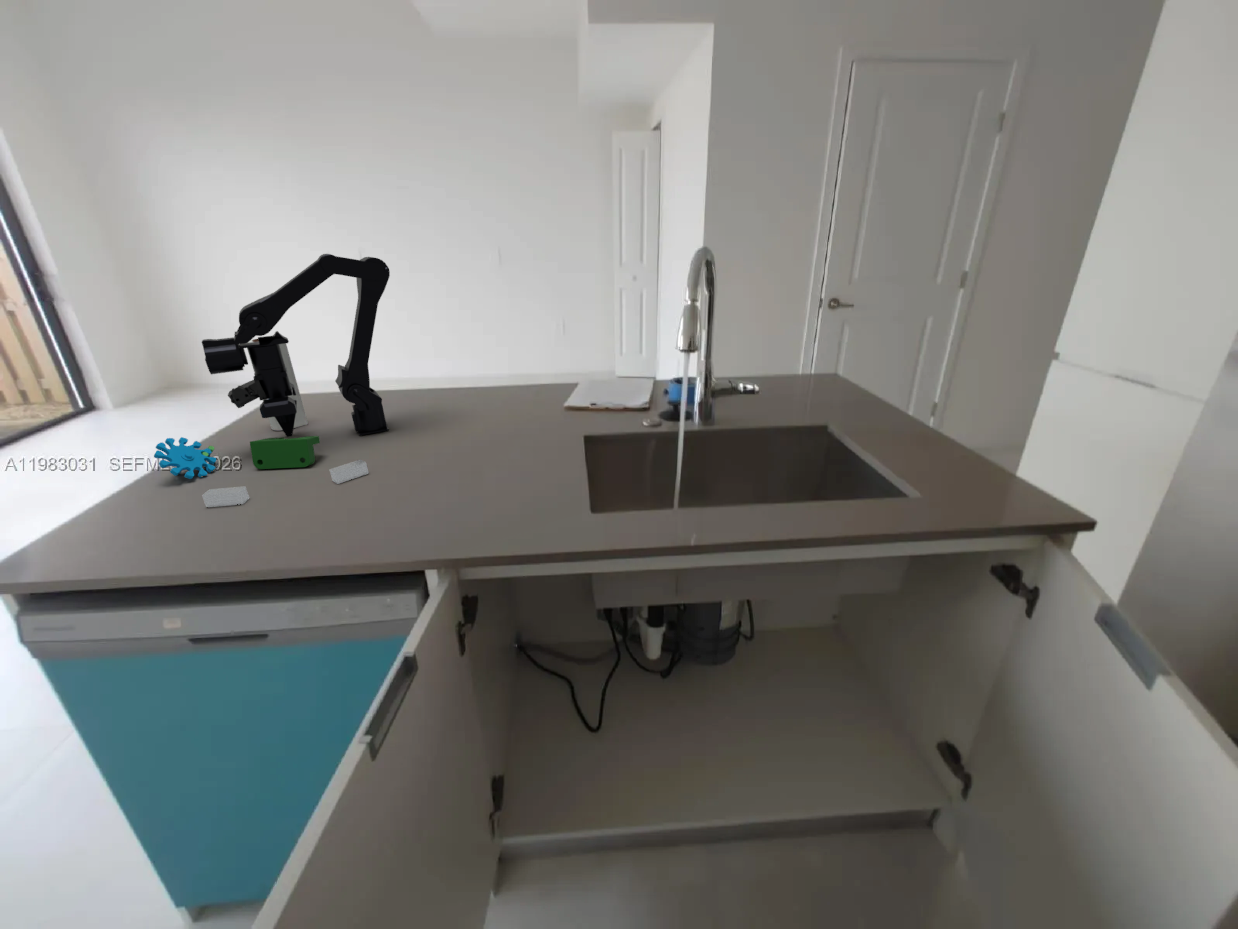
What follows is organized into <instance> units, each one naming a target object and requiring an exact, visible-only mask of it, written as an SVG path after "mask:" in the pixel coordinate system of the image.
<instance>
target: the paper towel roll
mask: <svg viewBox="0 0 1238 929" xmlns="http://www.w3.org/2000/svg"><path fill="white" fill-rule="evenodd" d="M257 341H259V340H258V338H253V339H251V340H250V341H249V342H248V343H251V342H257ZM279 345H280V349H281V352H282V356H283V360H284V363H285V367H286V368H287V372H288V378H289V381H290V383H292V384H293V385H294V387H295V390H296V395H294V396H293V395H291V396H288V397H290V398H292V399H293V400H296V401H297V413H296V416H295V422H294V428H293V429H296V428H299V427H302V426H306V425H308V424H309V423H308V419H307V415H306V411H305V406H304V404H303V400H302V396H301V394H300V390H299V385H298V382H297V378H296V374H295V371H294V367H293V363H292V361H291V356H290V353H289V350H288V346H287V343H285V344H279ZM246 350H247V352H248V348H246ZM248 355H249V352H248ZM249 359H250V360H249V361H250V363H251V366H252V368H253V365H252V361H251V358H250V355H249ZM253 372H254V373H255V371H254V368H253ZM254 373H253V374H254ZM263 401H264V400H262V402H263ZM267 419H268V422H269V425H270V428H271V430H272V431H283V430H282V428H281V426H280V425H279V423H278V421H277V420H276V418H275V417H270V418H267Z"/></svg>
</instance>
